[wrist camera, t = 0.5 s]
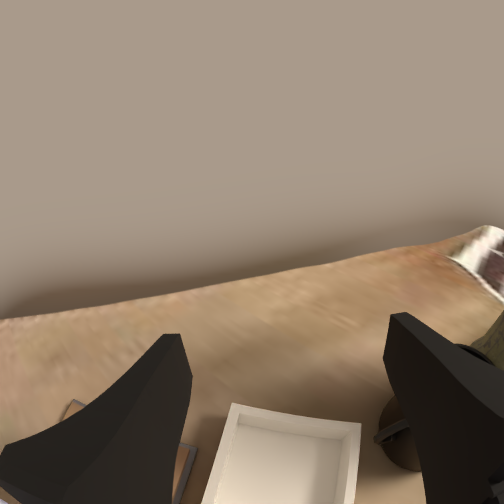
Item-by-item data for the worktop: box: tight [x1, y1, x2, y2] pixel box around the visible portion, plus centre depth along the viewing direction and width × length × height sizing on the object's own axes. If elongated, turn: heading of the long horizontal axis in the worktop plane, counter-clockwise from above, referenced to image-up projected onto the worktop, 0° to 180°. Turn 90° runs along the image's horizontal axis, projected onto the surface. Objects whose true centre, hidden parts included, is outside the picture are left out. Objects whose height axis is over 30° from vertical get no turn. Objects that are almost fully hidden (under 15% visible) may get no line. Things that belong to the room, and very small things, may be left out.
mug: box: [374, 344, 495, 471], centre depth 21 cm, size 9×12×9 cm
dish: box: [201, 403, 361, 504], centre depth 19 cm, size 11×11×4 cm
